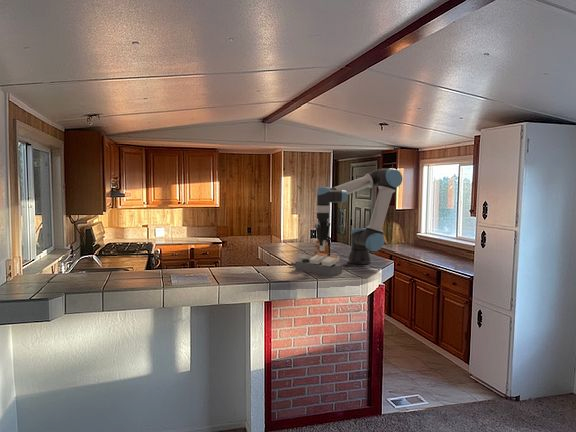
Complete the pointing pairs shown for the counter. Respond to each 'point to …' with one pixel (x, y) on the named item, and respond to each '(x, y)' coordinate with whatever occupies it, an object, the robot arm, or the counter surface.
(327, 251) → the canister
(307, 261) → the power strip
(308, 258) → the rocker
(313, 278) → the counter surface
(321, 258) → the rocker
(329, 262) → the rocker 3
